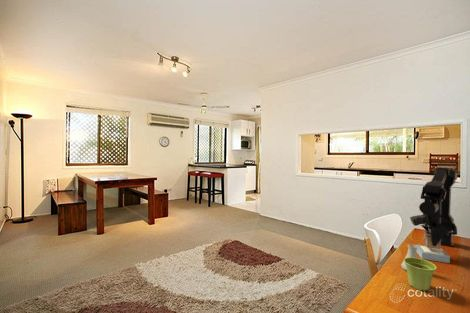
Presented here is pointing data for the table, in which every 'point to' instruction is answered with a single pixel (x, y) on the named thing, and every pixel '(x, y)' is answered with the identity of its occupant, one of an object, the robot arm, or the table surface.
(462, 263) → the table surface
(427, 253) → the plinth
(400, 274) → the table surface
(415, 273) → the plant pot
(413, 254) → the flask
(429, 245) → the walnut block
